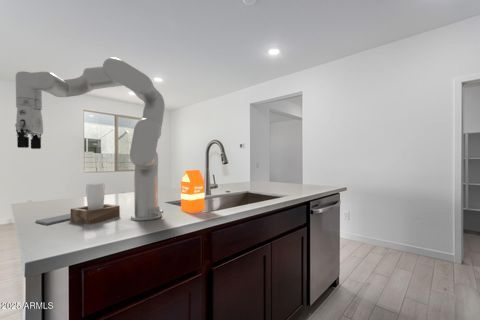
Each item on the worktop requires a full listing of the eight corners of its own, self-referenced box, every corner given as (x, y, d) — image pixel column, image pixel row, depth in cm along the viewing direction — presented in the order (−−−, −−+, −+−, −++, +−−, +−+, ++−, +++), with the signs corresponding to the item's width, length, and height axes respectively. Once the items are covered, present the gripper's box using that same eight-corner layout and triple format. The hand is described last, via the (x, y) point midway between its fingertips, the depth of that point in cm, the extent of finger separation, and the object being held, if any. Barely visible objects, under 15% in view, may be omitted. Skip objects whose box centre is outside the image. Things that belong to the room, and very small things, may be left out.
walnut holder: (119, 216, 103) (119, 205, 103) (89, 224, 91) (89, 211, 91) (101, 214, 108) (100, 203, 108) (70, 220, 97) (70, 208, 97)
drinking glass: (96, 221, 96) (95, 185, 96) (82, 220, 97) (82, 184, 97) (108, 217, 102) (108, 183, 102) (95, 216, 104) (95, 183, 104)
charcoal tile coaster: (84, 216, 103) (84, 215, 103) (47, 225, 91) (47, 223, 91) (72, 214, 107) (72, 213, 107) (35, 222, 94) (35, 220, 94)
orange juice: (180, 210, 115) (180, 170, 115) (195, 207, 121) (194, 169, 121) (190, 212, 110) (190, 170, 109) (204, 209, 116) (204, 170, 116)
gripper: (29, 100, 84) (30, 147, 84) (50, 109, 101) (50, 149, 101) (3, 98, 82) (4, 147, 82) (28, 108, 98) (29, 149, 98)
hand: (29, 148), depth 91 cm, fingers open, 9 cm apart
